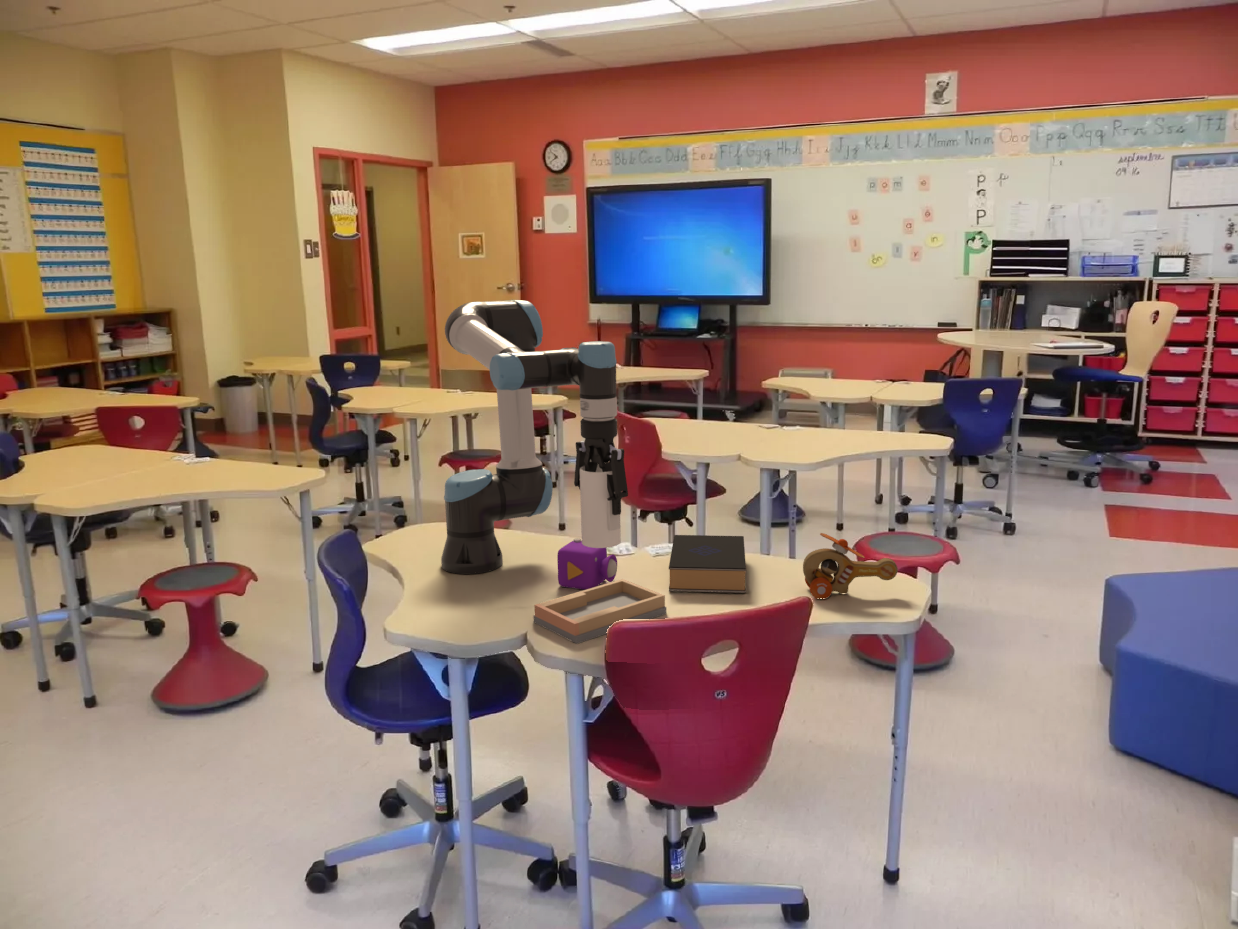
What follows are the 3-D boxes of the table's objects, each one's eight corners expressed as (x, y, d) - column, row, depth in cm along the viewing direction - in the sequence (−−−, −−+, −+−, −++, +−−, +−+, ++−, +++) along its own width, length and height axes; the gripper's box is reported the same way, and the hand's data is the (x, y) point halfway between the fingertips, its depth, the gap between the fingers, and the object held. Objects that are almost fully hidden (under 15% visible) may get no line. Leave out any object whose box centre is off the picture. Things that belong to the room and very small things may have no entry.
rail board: (533, 622, 196) (533, 604, 195) (621, 595, 211) (621, 578, 210) (576, 643, 185) (576, 624, 184) (666, 613, 200) (666, 595, 199)
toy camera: (613, 594, 212) (612, 552, 210) (555, 591, 215) (553, 549, 213) (622, 578, 222) (622, 538, 220) (567, 575, 225) (565, 535, 223)
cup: (581, 537, 201) (579, 464, 198) (619, 536, 201) (618, 463, 198) (582, 548, 193) (579, 472, 189) (621, 547, 193) (620, 471, 190)
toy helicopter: (799, 587, 214) (801, 530, 212) (891, 587, 214) (894, 529, 211) (805, 600, 206) (807, 540, 204) (900, 600, 206) (903, 540, 203)
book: (743, 561, 235) (743, 536, 233) (745, 596, 211) (746, 568, 209) (674, 560, 237) (674, 534, 235) (668, 594, 212) (668, 566, 211)
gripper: (554, 414, 197) (558, 518, 202) (615, 426, 181) (617, 539, 186) (583, 410, 202) (586, 512, 207) (645, 421, 186) (646, 532, 190)
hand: (601, 524), depth 196 cm, fingers closed on cup, 8 cm apart
